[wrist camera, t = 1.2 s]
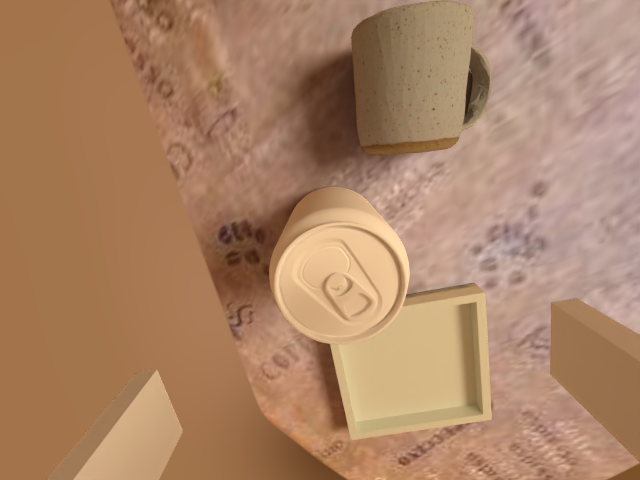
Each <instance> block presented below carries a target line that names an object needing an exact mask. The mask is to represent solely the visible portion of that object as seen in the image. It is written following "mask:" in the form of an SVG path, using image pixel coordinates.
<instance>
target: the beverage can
mask: <svg viewBox="0 0 640 480" xmlns="http://www.w3.org/2000/svg"><path fill="white" fill-rule="evenodd" d="M269 280H270V286H271V291H272V294H273V297H274V299H275V301H276V303H277V305H278V307H279V309H280V311H281V313H282V314H283V316H284V317H285V319H286V320H287V321H288V322H289V323H290V325H291V326H293V327H294V328H295V329H296V330H297V331H299V332H300V333H301V334H303V335H305V336H307V337H308V338H311V339H313V340H316V341H319V342H322V343H327V344H335V345H344V344H352V343H357V342H361V341H364V340H366V339H369V338H371V337H373V336H375V335H376V334H378V333H380V332H381V331H382V330H384V329H385V328H386V327H387V326H388V325H389V324H390V323H391V322H392V321H393V320H394V319H395V317H396V316H397V315H398V313H399V311H400V310H401V308H402V305H403V303H404V300H405V297H406V292H407V288H408V283H409V262H408V257H407V253H406V250H405V248H404V246H403V244H402V242H401V240H400V238H399V237H398V236H397V234H396V233H395V232H394V231H393V229H392V228H391V227H390V226H389V225H388V224H387V223H386V221H385V220H384V219H383V218H382V217H381V216H380V215H379V213H378V212H377V211H376V210H375V209H374V208H373V207H372V206H371V204H370V203H369V202H368V201H367V200H366V199H365V198H364V197H362V196H361V195H360V194H358V193H356V192H355V191H352V190H350V189H347V188H343V187H325V188H321V189H318V190H315V191H313V192H311V193H309V194H308V195H306V196H305V197H304V198H303V199H302V200H301V201H300V202H299V203H298V204H297V205H296V207H295V208H294V210H293V212H292V214H291V216H290V218H289V220H288V222H287V224H286V226H285V228H284V230H283V232H282V234H281V236H280V238H279V240H278V242H277V244H276V246H275V248H274V251H273V253H272V257H271V261H270V267H269Z"/></svg>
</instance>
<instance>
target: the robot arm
mask: <svg viewBox="0 0 640 480" xmlns="http://www.w3.org/2000/svg"><path fill="white" fill-rule="evenodd" d="M550 374H551V375H552V376H553V377H554V378H555V379H556V380H557V381H558V382H559V383H560V384H561V385H562V386H563V387H564V388H565V389H566V390H567V391H568V392H569V393H570V394H571V395H572V396H573V397H574V398H575V399H576V400H577V401H578V402H579V403H580V404H581V405H582V406H583V407H584V408H585V409H586V410H587V411H588V412H589V413H590V414H591V415H592V416H593V417H594V418H595V419H596V420H597V421H598V422H600V423H601V424H602V425H603V426H604V427H605V428H606V429H607V430H608V431H609V432H610V433H611V434H612V435H613V436H614V437H615V438H616V439H617V440H618V441H619V442H620V443H621V444H622V445H623V446H624V447H625V448H626V449H627V450H628V451H629V452H630V453H631V454H632V455H633V456H634V457H635V458H636V459H637V460H638V461H639V462H640V335H639V334H637V333H635V332H634V331H632V330H630V329H628V328H627V327H625V326H623V325H622V324H620V323H618V322H616V321H615V320H613V319H611V318H610V317H608V316H606V315H604V314H603V313H601V312H599V311H598V310H596V309H594V308H592V307H591V306H589V305H587V304H585V303H584V302H582V301H580V300H579V299H577V298H575V299H569V300H563V301H557V302H551V361H550ZM182 432H183V430H182V428H181V426H180V423H179V421H178V418H177V416H176V413H175V411H174V409H173V406H172V404H171V402H170V399H169V397H168V394H167V392H166V390H165V387H164V385H163V382H162V380H161V378H160V375H159V373H158V371H157V370H150V371H144V372H139V373H135V375H134V376H133V377H132V378H131V379H130V381H129V382H128V383H127V384H126V385H125V387H124V388H123V389H122V390H121V391H120V392H119V394H118V395H117V396H116V397H115V398H114V400H113V401H112V402H111V403H110V404H109V406H108V407H107V408H106V409H105V411H104V412H103V413H102V414H101V415H100V416H99V418H98V419H97V420H96V421H95V422H94V423H93V425H92V426H91V427H90V428H89V429H88V431H87V432H86V433H85V434H84V435H83V437H82V438H81V439H80V440H79V442H78V443H77V444H76V445H75V446H74V447H73V448H72V450H71V451H70V452H69V453H68V454H67V456H66V457H65V458H64V459H63V460H62V462H61V463H60V464H59V465H58V467H57V468H56V469H55V470H54V471H53V472H52V473H51V475H50V476H49V477H48V478H47V479H46V480H159V478H160V476H161V474H162V472H163V470H164V468H165V466H166V464H167V462H168V460H169V458H170V456H171V454H172V452H173V450H174V448H175V446H176V444H177V442H178V440H179V438H180V436H181V434H182Z"/></svg>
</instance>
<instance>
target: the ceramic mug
mask: <svg viewBox="0 0 640 480" xmlns="http://www.w3.org/2000/svg"><path fill="white" fill-rule="evenodd" d="M474 19H475V17H474V10H473V9H472V8H471V7H470V6H468V5H466V4H462V3H458V2H452V1H428V2H421V3H416V4H410V5H403V6H399V7H394V8H390V9H387V10H384V11H381V12H379V13H377V14H375V15H373V16H371V17H368V18H366V19H365V20H363V21H362V22H361V23H360V24H358V25H357V26H356V27H355V29H354V30H353V32H352V36H351V39H352V53H353V70H354V88H355V98H356V118H357V131H358V136H359V141H360V145H361V147H362V149H363V150H364V151H365V152H366V153H368V154H403V153H419V152H428V151H436V150H443V149H448V148H451V147H452V146H453V145H454V144H456V142H457V141H458V139H459V136H460V133H461V131H462V130H464V129H468V128H469V127H471V126H473V125H474V124H475V123H477V121H478V120H479V119H480V118H481V116H482V114H483V113H484V111H485V109H486V106H487V104H488V100H489V96H490V91H491V82H492V79H491V70H490V65H489V62H488V60H487V58H486V56H485V55H484V54H483V52H482V51H481V50H480V49H479V48H478V47H476V46H475V45H473V44H472V37H473V28H474ZM469 68H470V69H471V72H472V78H473V80H472V91H471V96H470V102H469V105H468V111H467V113H466V115H465V116H464V114H465V101H466V87H467V79H468V72H469Z"/></svg>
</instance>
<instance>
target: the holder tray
mask: <svg viewBox="0 0 640 480" xmlns="http://www.w3.org/2000/svg"><path fill="white" fill-rule="evenodd" d="M330 347H331V351H332V356H333V360H334V365H335V369H336V374H337V378H338V383H339V387H340V392H341V397H342V401H343V406H344V410H345V415H346V419H347V424H348V428H349V433H350V437H351V440H355V439H361V438H368V437H375V436H382V435H389V434H396V433H403V432H410V431H416V430H423V429H430V428H437V427H444V426H451V425H458V424H464V423H471V422H478V421H485V420H492V416H491V396H490V377H489V357H488V337H487V317H486V297H485V292H484V291H483V290H482V289H481V288H480V287H479V286H477V285H476V284H475V283H471V284H466V285H460V286H454V287H448V288H443V289H437V290H431V291H425V292H420V293H414V294H408V295H406V297H405V300H404V303H403V305H402V308H401V310H400V311H399V313H398V315H397V316H396V317H395V319H394V320H393V321H392V322H391V323H390V324H389V325H388V326H387V327H386V328H385V329H384V330H382V331H381V332H380V333H378V334H376V335H375V336H373V337H371V338H369V339H366V340H364V341H361V342H357V343H352V344H344V345H335V344H330Z"/></svg>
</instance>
